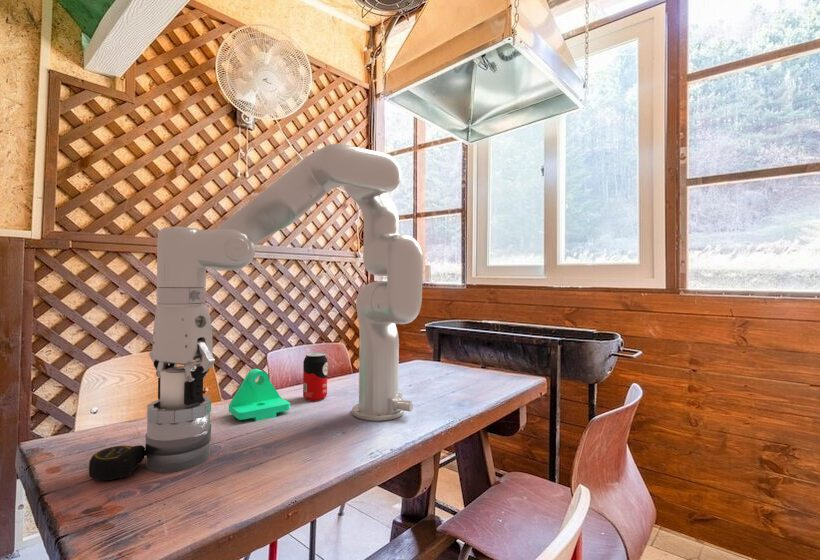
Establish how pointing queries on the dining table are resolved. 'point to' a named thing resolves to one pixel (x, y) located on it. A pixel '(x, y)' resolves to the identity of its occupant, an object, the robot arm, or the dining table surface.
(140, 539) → the dining table surface
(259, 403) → the camera mount
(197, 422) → the grey hollow cylinder
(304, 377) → the beverage can
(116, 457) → the tape measure
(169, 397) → the cap
